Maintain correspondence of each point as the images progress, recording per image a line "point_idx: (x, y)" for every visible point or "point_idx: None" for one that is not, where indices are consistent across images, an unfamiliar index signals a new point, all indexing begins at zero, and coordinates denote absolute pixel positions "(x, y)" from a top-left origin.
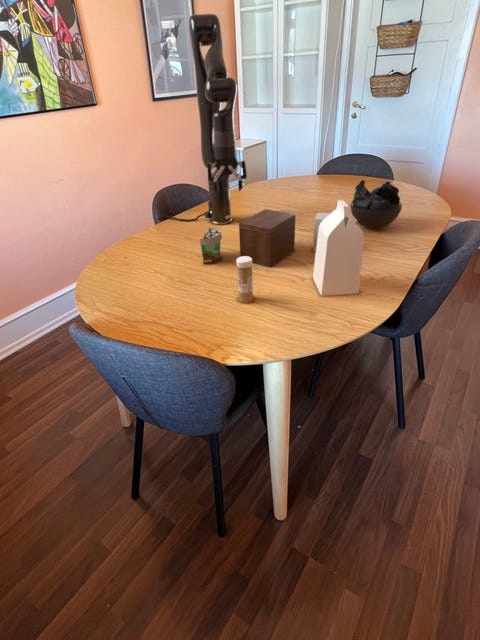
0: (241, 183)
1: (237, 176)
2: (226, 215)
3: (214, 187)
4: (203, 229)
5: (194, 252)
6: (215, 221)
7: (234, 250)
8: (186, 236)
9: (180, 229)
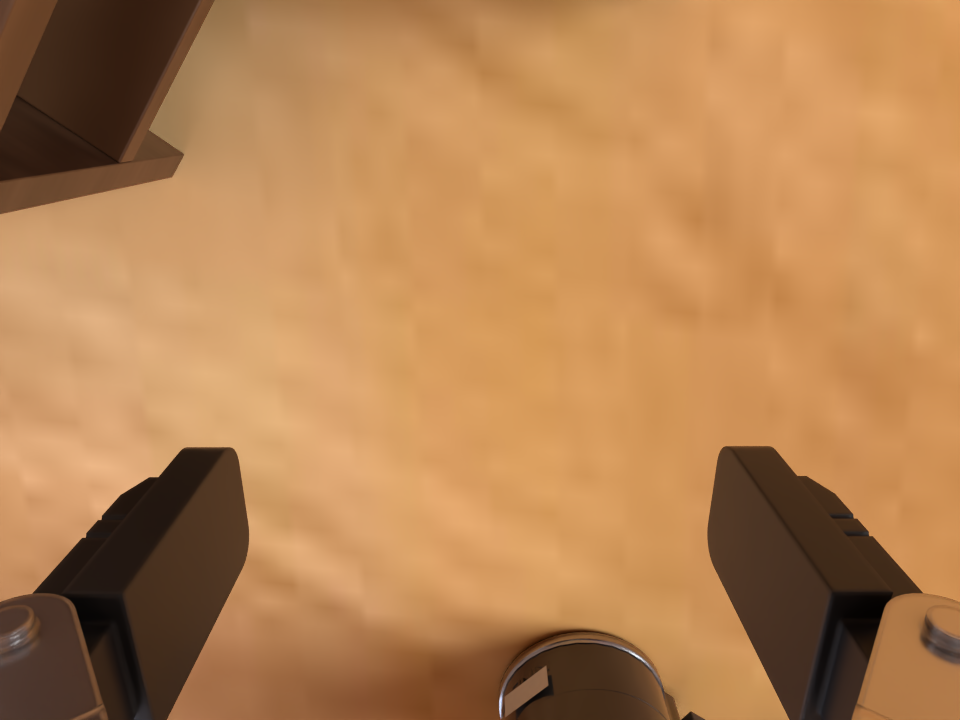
0: (78, 561)
1: (51, 718)
2: (539, 698)
3: (847, 525)
4: None
5: (840, 34)
6: (631, 659)
7: (453, 47)
8: (885, 425)
9: (923, 575)
